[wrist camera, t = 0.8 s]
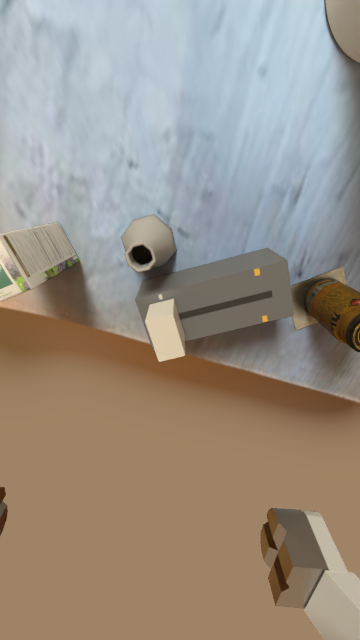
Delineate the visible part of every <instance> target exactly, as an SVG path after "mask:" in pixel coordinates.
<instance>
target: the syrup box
mask: <svg viewBox="0 0 360 640" xmlns="http://www.w3.org/2000/svg"><path fill="white" fill-rule="evenodd" d="M77 262H79V259H78V257H77V255H76V253H75V251H74V250H73V248H72V246H71V244H70V242H69V240H68V238H67V236H66V235H65V233H64V231H63V229H62V227H61V225H60V224H59V222H56V223H52V224H46V225H41V226H37V227H32V228H26V229H21V230H16V231H12V232H7V233H3V234H0V302H1V301H4V300H6V299H9V298H11V297H14V296H16V295H19V294H21V293H24V292H26V291H29V290H32V289H34V288H36V287H37V286H39V285H41V284H42V283H44V282H46V281H47V280H49V279H51V278H52V277H54V276H56V275H57V274H59V273H61V272H62V271H64V270H66V269H67V268H69V267H70V266H72V265H74V264H75V263H77Z"/></svg>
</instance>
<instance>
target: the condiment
mask: <svg viewBox="0 0 360 640" xmlns="http://www.w3.org/2000/svg"><path fill="white" fill-rule="evenodd" d="M290 287H291V295H292V303H293V311H294V316H292V317H293V321H294V324H295V328H296V330H298V329H301V328H304V327H307V326H310V325H312V324H316V323H318V322H319V323H320V324H321V325H322V326H324V327H325V328H326V329H327V330H328V331H329V332H330V333H331V334H332V335H333V336H334V337H335V338H336V339H338V340H339V341H341V342H343V343H346V344H347V345H349V346H350V347H351V348H353V349H354V350H355V351H357V352H360V292H358V291H356V290H354V289H352V288H351V287H348V286H347V284H346V278H345V272H344V267H340V268H338V269H335V270H332V271H329V272H327V273H324V274H321V275H319V276H316V277H314V278H311V279H309V280H306V281H303V282H300V283H298V284H295V285H293V286H290ZM305 313H306V314H305ZM307 313H309V314H307Z"/></svg>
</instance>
